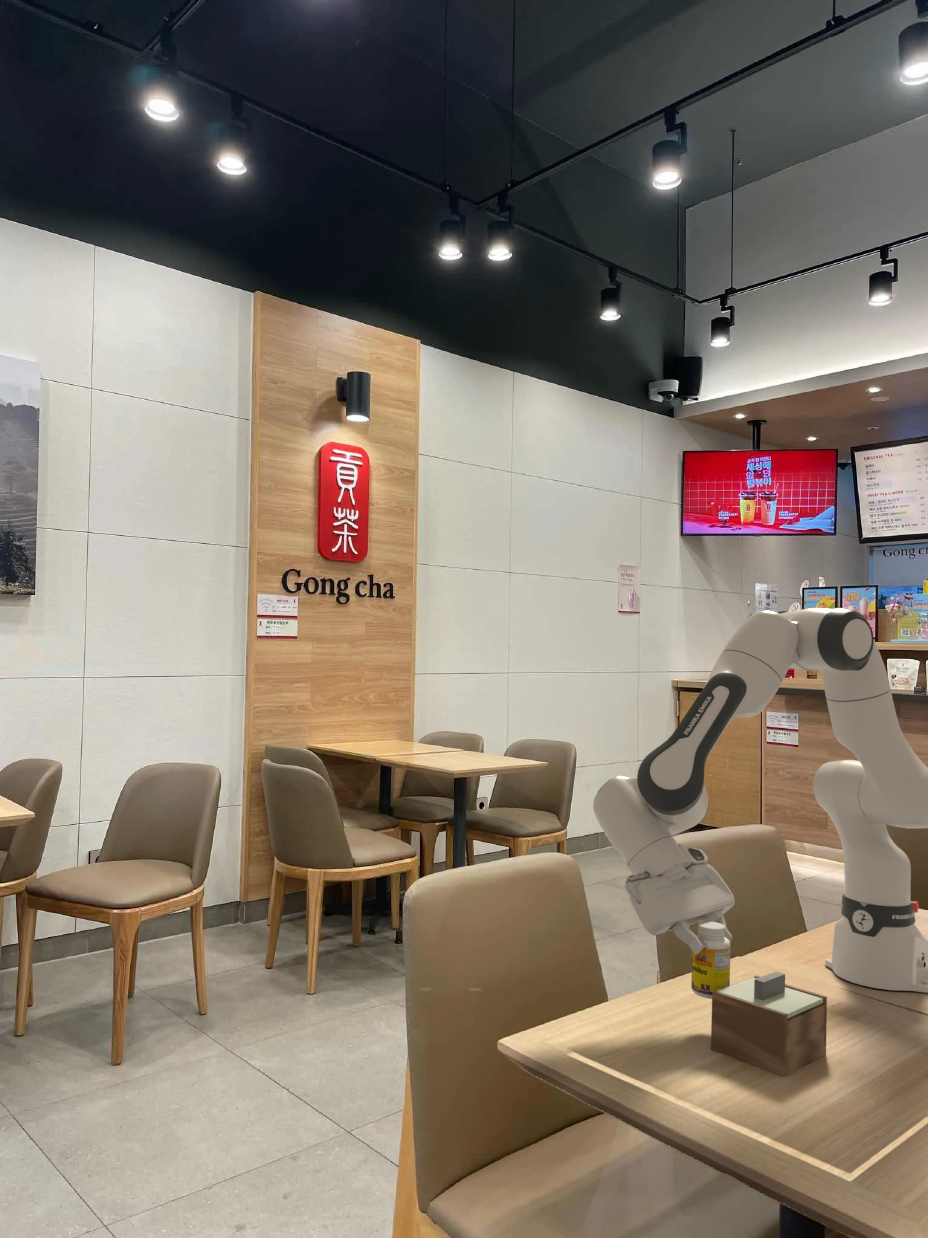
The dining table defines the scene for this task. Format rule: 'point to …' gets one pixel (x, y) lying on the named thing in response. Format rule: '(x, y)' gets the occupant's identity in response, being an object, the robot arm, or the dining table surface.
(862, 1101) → the dining table surface
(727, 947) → the supplement bottle
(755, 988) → the lid
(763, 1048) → the walnut box
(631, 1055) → the dining table surface
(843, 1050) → the dining table surface
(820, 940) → the dining table surface
